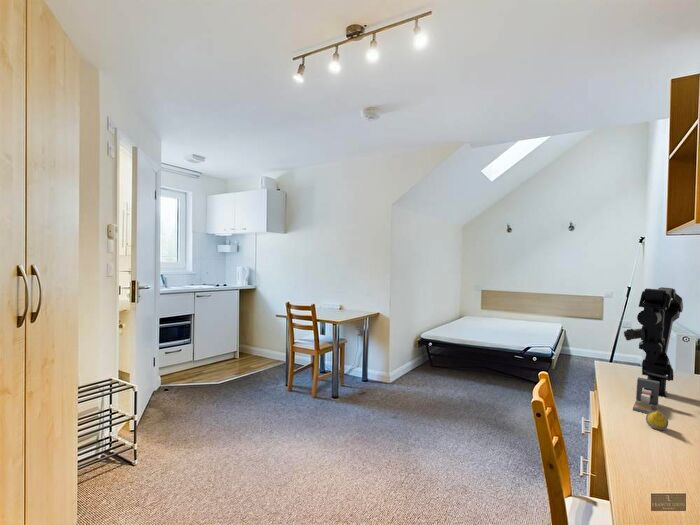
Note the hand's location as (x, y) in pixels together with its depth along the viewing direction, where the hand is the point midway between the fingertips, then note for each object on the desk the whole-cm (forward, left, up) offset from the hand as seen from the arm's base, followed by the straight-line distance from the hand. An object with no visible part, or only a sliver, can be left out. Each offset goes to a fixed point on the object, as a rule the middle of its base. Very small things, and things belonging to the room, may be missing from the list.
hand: (650, 366), depth 140 cm
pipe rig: (+9, 0, -12) cm, 15 cm away
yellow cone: (+28, +5, -13) cm, 31 cm away
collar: (+5, 0, -11) cm, 13 cm away
